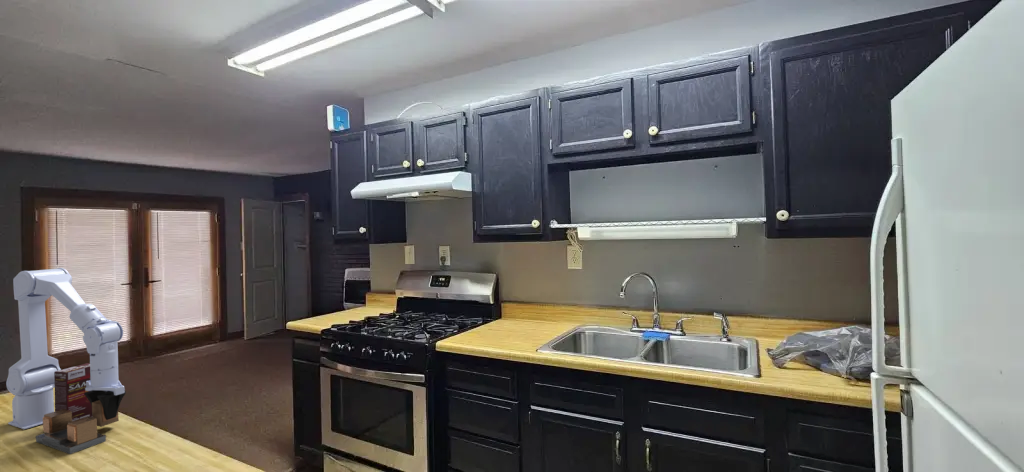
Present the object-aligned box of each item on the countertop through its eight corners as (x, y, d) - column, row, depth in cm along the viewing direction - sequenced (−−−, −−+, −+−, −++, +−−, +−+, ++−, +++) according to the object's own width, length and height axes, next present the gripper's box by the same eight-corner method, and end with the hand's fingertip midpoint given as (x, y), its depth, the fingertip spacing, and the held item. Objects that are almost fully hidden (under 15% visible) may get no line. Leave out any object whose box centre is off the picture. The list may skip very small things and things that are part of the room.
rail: (36, 441, 118) (35, 416, 118) (71, 430, 125) (70, 406, 124) (70, 454, 111) (69, 427, 111) (105, 441, 118) (105, 416, 118)
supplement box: (68, 430, 125) (66, 372, 124) (54, 428, 126) (52, 371, 125) (102, 417, 133) (100, 363, 133) (89, 415, 134) (87, 362, 134)
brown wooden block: (92, 424, 124) (91, 402, 124) (110, 418, 127) (109, 397, 127) (101, 427, 122) (100, 404, 122) (119, 421, 126) (118, 399, 126)
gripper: (71, 368, 124) (73, 418, 124) (101, 375, 118) (102, 427, 118) (103, 361, 130) (104, 408, 130) (132, 367, 124) (134, 416, 125)
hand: (105, 416), depth 125 cm, fingers closed on brown wooden block, 4 cm apart
